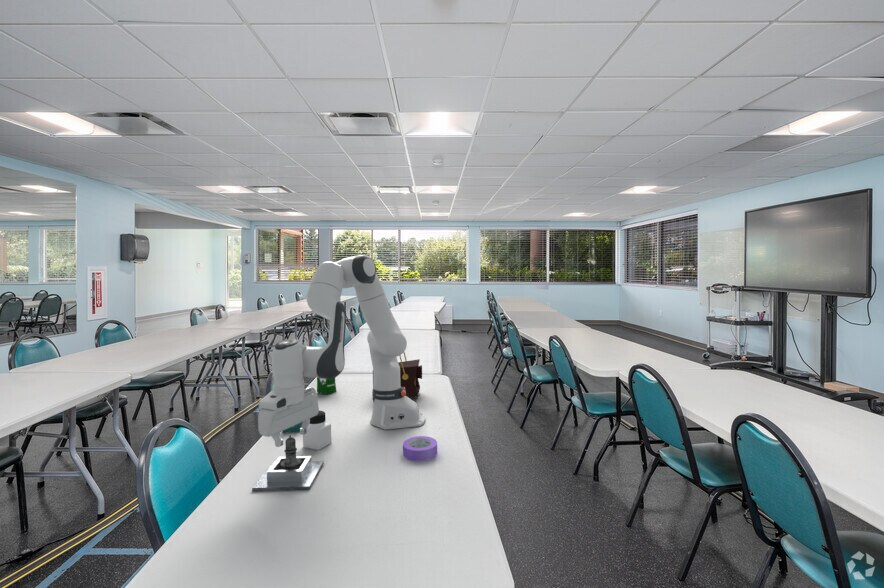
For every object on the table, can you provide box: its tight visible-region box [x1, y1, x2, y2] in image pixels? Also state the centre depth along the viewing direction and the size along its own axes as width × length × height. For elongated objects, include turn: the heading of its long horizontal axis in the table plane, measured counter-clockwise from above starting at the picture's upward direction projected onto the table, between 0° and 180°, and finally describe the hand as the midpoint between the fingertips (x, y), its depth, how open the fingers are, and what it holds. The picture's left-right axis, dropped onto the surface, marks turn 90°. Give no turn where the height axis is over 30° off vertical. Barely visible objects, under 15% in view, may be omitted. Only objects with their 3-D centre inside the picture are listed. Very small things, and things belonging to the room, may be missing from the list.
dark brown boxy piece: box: [372, 351, 423, 397], centre depth 203 cm, size 16×23×25 cm
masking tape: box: [402, 435, 438, 462], centre depth 139 cm, size 12×12×4 cm
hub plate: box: [251, 455, 325, 492], centre depth 124 cm, size 16×16×4 cm
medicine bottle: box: [302, 409, 332, 451], centre depth 147 cm, size 7×7×12 cm
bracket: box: [281, 422, 303, 434], centre depth 168 cm, size 18×7×8 cm, turn 5°
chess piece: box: [281, 434, 301, 470], centre depth 123 cm, size 6×6×12 cm
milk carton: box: [316, 377, 337, 395], centre depth 213 cm, size 9×9×20 cm
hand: (292, 439), depth 124 cm, fingers open, 8 cm apart
